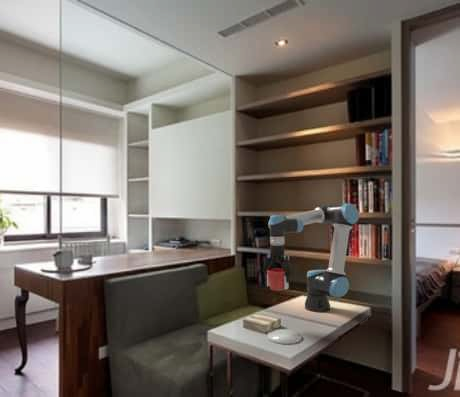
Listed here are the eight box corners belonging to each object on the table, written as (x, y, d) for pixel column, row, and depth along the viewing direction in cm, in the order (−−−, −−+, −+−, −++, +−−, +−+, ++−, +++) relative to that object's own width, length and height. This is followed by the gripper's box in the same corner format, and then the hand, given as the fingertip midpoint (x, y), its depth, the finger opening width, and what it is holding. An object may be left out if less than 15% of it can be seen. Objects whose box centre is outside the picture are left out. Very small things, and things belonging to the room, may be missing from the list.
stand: (259, 320, 188) (259, 313, 188) (280, 326, 178) (280, 318, 178) (243, 327, 177) (243, 319, 177) (265, 333, 168) (264, 325, 168)
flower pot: (271, 285, 185) (271, 267, 186) (291, 287, 180) (291, 269, 180) (263, 289, 176) (263, 270, 176) (284, 292, 171) (283, 272, 171)
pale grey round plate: (279, 329, 174) (279, 327, 174) (307, 336, 163) (307, 334, 163) (260, 338, 162) (260, 336, 162) (289, 347, 151) (289, 344, 151)
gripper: (255, 243, 183) (255, 285, 183) (292, 246, 169) (292, 292, 168) (263, 242, 189) (264, 283, 188) (300, 245, 174) (300, 289, 174)
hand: (277, 287), depth 178 cm, fingers closed on flower pot, 10 cm apart
